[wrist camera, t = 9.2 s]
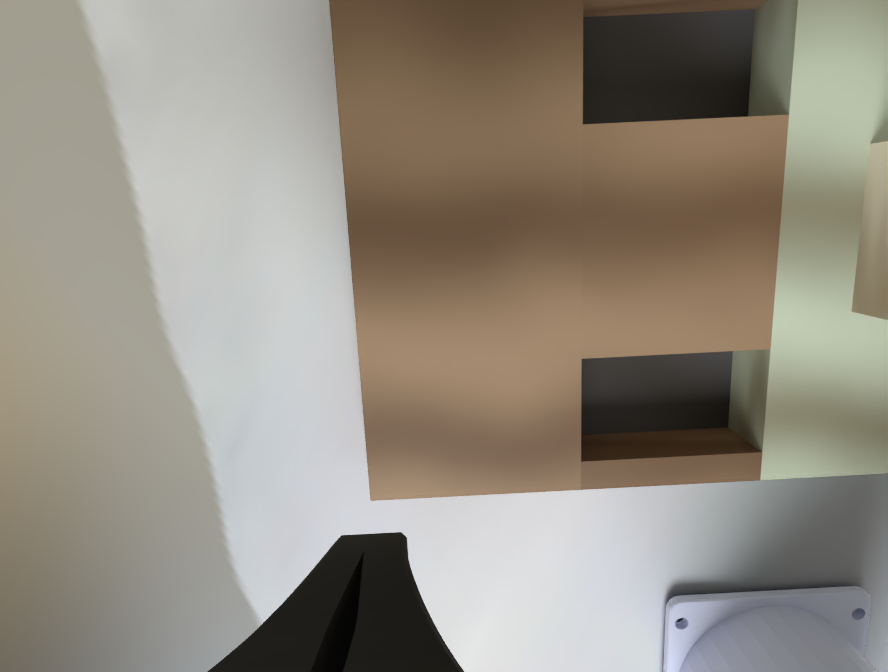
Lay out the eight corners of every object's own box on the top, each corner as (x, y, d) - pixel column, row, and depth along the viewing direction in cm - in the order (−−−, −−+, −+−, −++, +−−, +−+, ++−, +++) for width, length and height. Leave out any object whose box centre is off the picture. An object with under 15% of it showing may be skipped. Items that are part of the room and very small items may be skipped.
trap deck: (906, 439, 21) (968, 469, 19) (377, 467, 21) (370, 500, 18) (971, -33, 18) (1057, -72, 15) (341, -4, 18) (326, -39, 15)
